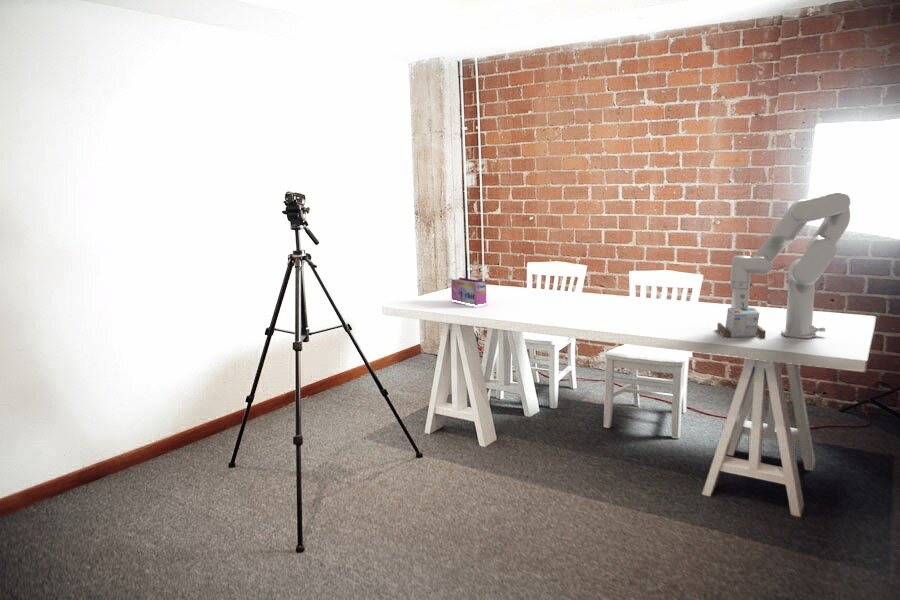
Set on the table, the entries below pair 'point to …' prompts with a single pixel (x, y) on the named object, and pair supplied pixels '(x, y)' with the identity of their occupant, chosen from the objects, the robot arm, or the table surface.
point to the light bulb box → (742, 322)
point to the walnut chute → (725, 332)
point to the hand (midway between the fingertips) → (737, 327)
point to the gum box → (468, 290)
